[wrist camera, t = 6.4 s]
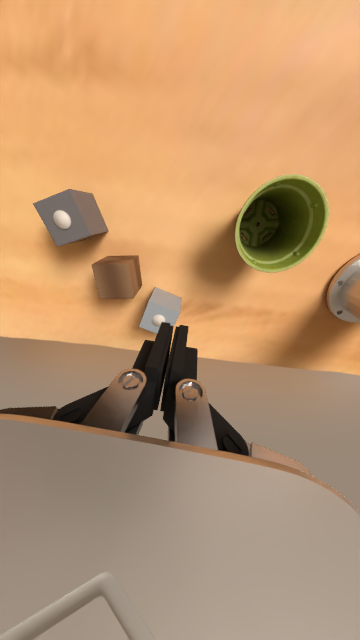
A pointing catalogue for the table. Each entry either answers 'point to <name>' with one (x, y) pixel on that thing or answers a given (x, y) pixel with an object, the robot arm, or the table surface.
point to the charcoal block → (71, 216)
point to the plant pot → (282, 223)
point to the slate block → (160, 310)
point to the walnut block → (117, 277)
